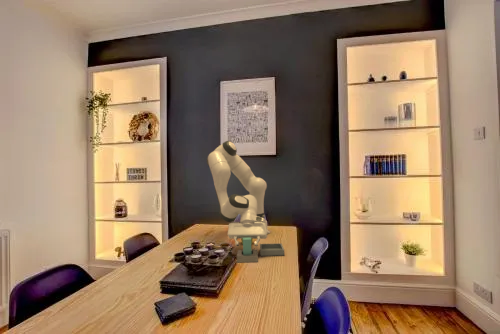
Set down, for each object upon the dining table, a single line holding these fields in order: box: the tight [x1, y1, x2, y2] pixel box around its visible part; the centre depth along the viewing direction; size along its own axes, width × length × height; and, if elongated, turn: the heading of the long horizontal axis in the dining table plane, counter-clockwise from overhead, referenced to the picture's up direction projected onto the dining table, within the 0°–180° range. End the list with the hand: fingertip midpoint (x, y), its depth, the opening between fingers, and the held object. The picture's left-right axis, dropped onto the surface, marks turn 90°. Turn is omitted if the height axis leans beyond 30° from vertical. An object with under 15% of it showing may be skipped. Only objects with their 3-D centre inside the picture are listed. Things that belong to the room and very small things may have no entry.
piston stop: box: [242, 237, 253, 255], centre depth 127 cm, size 4×4×10 cm
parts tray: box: [259, 242, 285, 257], centre depth 135 cm, size 12×12×3 cm
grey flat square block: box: [236, 248, 259, 264], centre depth 126 cm, size 10×10×3 cm
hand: (246, 245), depth 127 cm, fingers open, 8 cm apart
